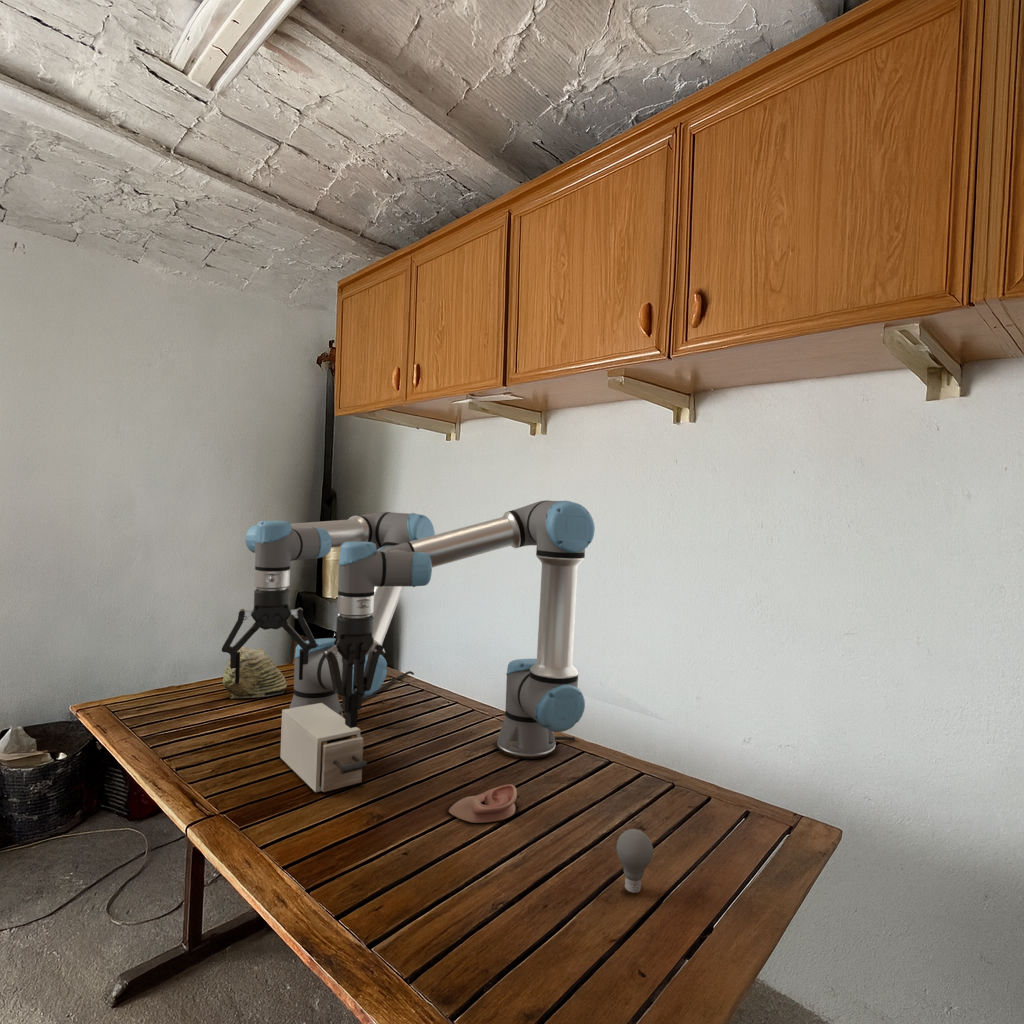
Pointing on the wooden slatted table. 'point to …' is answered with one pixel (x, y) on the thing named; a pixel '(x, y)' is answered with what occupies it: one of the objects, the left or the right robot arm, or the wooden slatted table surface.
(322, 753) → the drawer
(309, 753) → the cabinet
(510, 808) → the anatomical model
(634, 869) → the light bulb
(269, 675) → the fossil
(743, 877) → the wooden slatted table surface
